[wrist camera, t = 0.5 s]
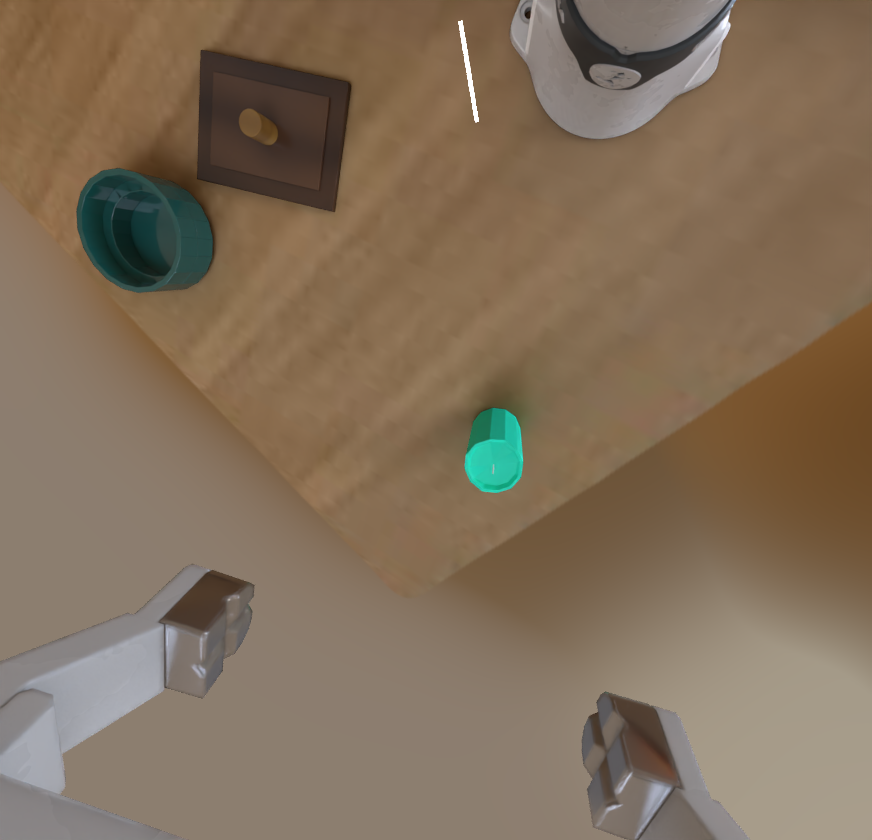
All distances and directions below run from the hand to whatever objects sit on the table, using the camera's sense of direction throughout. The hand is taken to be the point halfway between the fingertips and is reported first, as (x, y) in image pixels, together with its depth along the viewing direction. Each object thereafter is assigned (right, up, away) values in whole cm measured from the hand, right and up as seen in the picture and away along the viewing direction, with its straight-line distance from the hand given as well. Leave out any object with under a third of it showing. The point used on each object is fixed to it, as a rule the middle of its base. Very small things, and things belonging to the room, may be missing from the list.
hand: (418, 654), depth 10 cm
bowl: (-32, +27, +43) cm, 60 cm away
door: (-17, +36, +37) cm, 55 cm away
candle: (+8, +4, +44) cm, 45 cm away
